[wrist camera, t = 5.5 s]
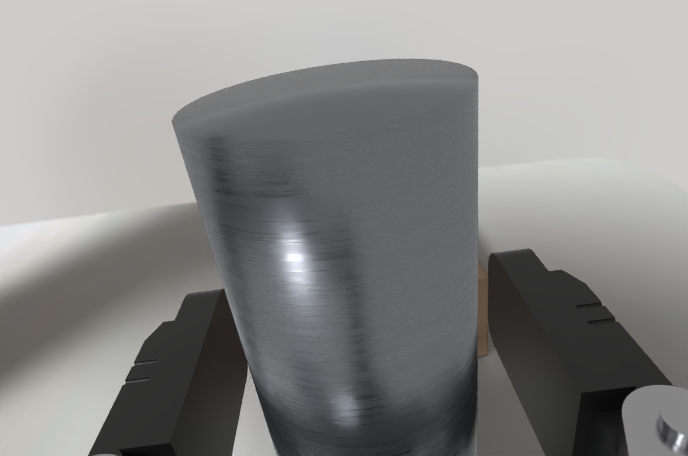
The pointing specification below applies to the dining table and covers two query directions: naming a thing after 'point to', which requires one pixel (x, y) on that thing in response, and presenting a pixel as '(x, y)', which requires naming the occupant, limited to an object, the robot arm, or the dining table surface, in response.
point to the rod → (349, 249)
